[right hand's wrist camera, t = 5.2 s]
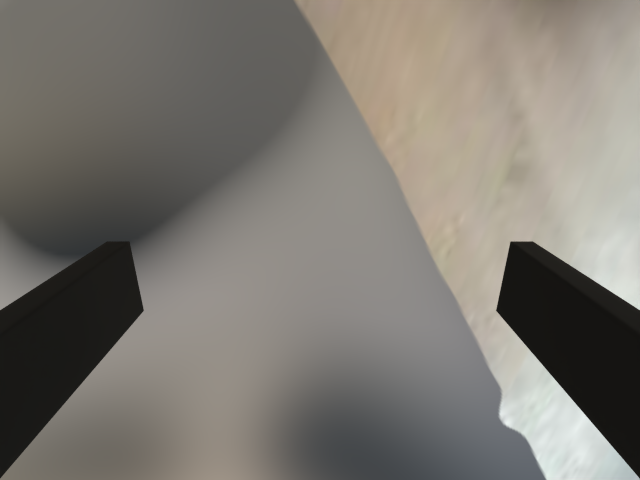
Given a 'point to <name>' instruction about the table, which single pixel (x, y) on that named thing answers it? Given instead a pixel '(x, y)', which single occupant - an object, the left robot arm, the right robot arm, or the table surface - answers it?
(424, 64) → the table surface
